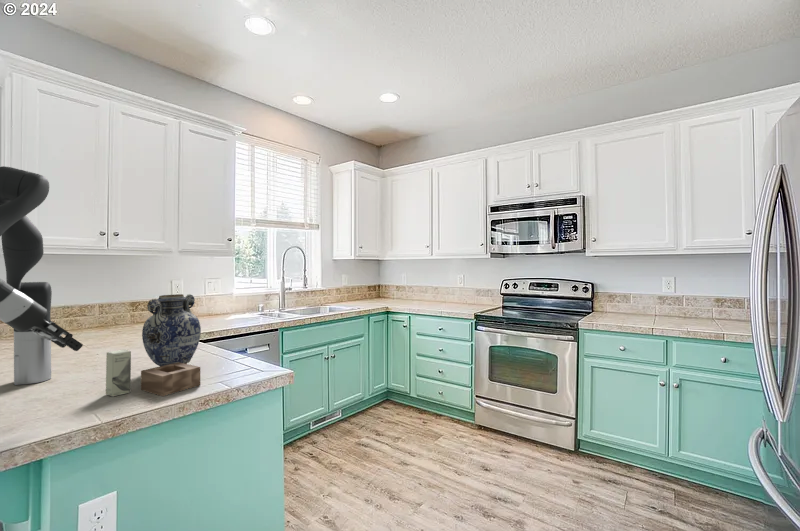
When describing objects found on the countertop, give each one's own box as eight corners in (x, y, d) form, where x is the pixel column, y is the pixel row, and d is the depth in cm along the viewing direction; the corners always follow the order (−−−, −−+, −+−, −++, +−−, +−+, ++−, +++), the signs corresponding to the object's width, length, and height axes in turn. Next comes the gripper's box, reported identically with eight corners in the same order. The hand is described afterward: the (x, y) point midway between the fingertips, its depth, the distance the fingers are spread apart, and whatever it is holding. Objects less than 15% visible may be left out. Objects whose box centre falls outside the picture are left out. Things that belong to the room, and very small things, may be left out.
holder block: (162, 396, 118) (162, 376, 118) (141, 389, 124) (140, 370, 124) (200, 385, 128) (200, 367, 128) (178, 379, 134) (178, 362, 134)
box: (112, 397, 117) (111, 354, 117) (105, 394, 120) (105, 352, 119) (131, 392, 122) (131, 350, 122) (125, 389, 124) (124, 348, 124)
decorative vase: (172, 380, 133) (171, 297, 133) (126, 378, 137) (124, 297, 137) (214, 365, 154) (213, 292, 154) (173, 363, 157) (172, 293, 157)
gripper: (42, 300, 99) (95, 338, 109) (20, 297, 107) (73, 333, 117) (13, 324, 95) (72, 361, 105) (-7, 319, 102) (50, 355, 112)
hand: (72, 346), depth 111 cm, fingers open, 8 cm apart
